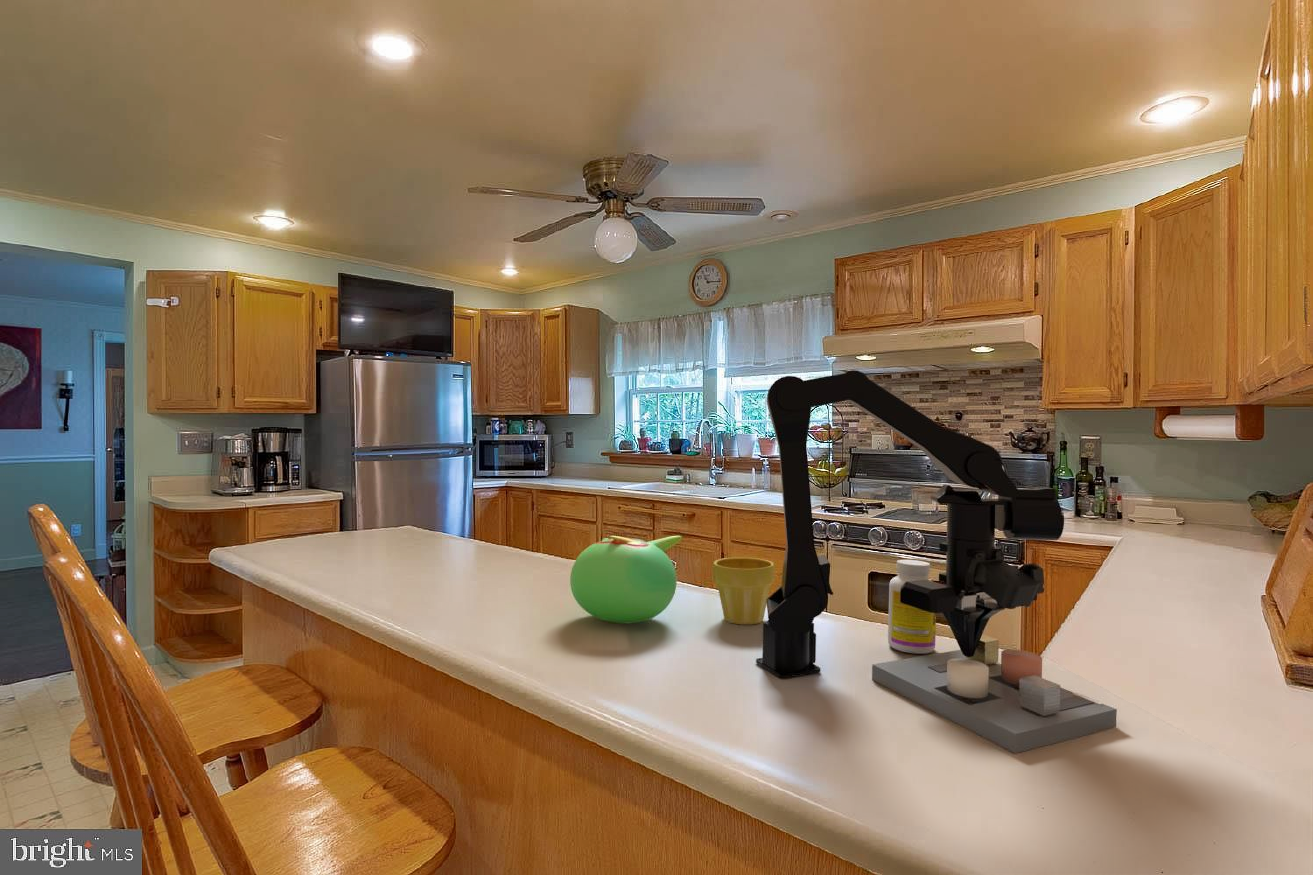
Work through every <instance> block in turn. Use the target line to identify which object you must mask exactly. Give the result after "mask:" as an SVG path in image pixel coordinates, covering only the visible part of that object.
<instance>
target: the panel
mask: <svg viewBox="0 0 1313 875" xmlns="http://www.w3.org/2000/svg"><path fill="white" fill-rule="evenodd" d="M956 658H961V659H968V658H966V656H964V655H963V654H962V651H961V649H956V650H951V651H944V652H938V653H932V654H925V655H921V656H914V657H908V658H904V659H897V660H891V661H885V662H879V663H873V664H871V681H874V682H877V683H878V684H879V685H882V686H883V687H884V688H887V689H889V690H891V691H894V692H895V693H897V694H899V695H900V696H903V697H905V698H907V699H908V700H911V701H912V702H914V703H917V704H918V705H920V706H922V707H924V708H926V709H928V710H930V711H932V712H934V713H935V714H937V715H940V716H942V717H944V718H945V719H948V721H949V720H950V721H951V722H954V723H956V724H957V725H959V726H961V727H964V728H965V729H967V730H969V731H971V732H973V733H975V734H976V735H978V736H981V737H982V738H984V739H986V740H988V741H989V742H992V743H993V744H996V745H998V746H1000V747H1002V748H1004V749H1006V750H1007V751H1009V752H1011V753H1013V754H1018V753H1022V752H1026V751H1029V750H1033V749H1037V748H1041V747H1044V746H1045V747H1046V746H1049V745H1052V744H1056V743H1059V742H1064V741H1067V740H1072V739H1076V738H1079V737H1083V736H1087V735H1091V734H1095V733H1098V732H1099V733H1100V732H1102V731H1106V730H1110V729H1113V728H1117V715H1118V714H1117V708H1115V707H1112V706H1110V705H1106V704H1104V702H1100V701H1099V700H1096V699H1094V698H1091V697H1089V696H1086V695H1084V694H1081V693H1078V692H1074V691H1072V690H1068V689H1066V688H1063V687H1061V686H1060V712H1059V713H1055V714H1051V715H1046V716H1043V715H1040V714H1038V713H1036V712H1033V711H1031V710H1029V709H1027V708H1024V707H1022V706H1020V705H1019V685H1015V684H1012V683H1009V682H1007V681H1005V680H1003V679H1002V678H1001V662H998V663H993V664H987V666H988V667H989V679H988V696H986V697H984V698H968V697H963V696H959V695H956V694H954V693H952V692H950V691H949V690H948V689H947V661H948V660H950V659H956ZM970 660H971V659H970ZM962 699H966V700H968V701H971V702H972V704H968V703H966V702H964V701H962ZM973 703H974V704H973Z"/></svg>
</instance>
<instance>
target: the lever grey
mask: <svg viewBox="0 0 1313 875" xmlns="http://www.w3.org/2000/svg"><path fill="white" fill-rule="evenodd" d="M1060 687H1061V684H1059V683H1057V682H1053V681H1051V680H1048V679H1047V678H1046V679H1045V678H1043V677H1042V678H1041V677H1038V676H1035V675H1034V676H1029V677H1024V678H1020V679H1019V688H1018V690H1019V705H1020V706H1022V707H1024V708H1027V709H1029V710H1031V711H1033V712H1036V713H1038V714H1040V715H1043V716H1046V715H1051V714H1055V713H1059V712H1060Z"/></svg>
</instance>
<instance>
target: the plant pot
mask: <svg viewBox="0 0 1313 875" xmlns="http://www.w3.org/2000/svg"><path fill="white" fill-rule="evenodd" d="M712 569H713V570H712V571H713V572H712V574H713V582H714V583H715V584H716V585H717V591H718V593H719V595H718V596H719V599H720V605H721V609H722V613H723V619H724V620H725V621H727V622H728V623H730V624H735V625H746V626H747V625H748V626H749V625H758V624H760V623H763V622H764V617H765V615H766V614H765V612H766V609H767V602H766V600H767V598H768V597H769V594H770V588H771V586H772V585H773V584H774V583H775V564H774V562H773V561H771V560H766V559H763V558H756V557H745V556H744V557H724V558H719V559H716V560H714V562H713V568H712Z"/></svg>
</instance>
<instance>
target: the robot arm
mask: <svg viewBox="0 0 1313 875" xmlns="http://www.w3.org/2000/svg"><path fill="white" fill-rule="evenodd" d="M841 402H847V403H850V404H852V405H853V406H855V407H856V408H858V409H859V410H861V411H862V412H864V413H865V414H867V415H868V416H870V417H871V418H872V419H874V420H876V421H878V422H879V423H880V424H882V425H883V426H885V427H887V428H888V429H890V431H893V432H894V433H896V434H897V435H899V436H901V437H902V438H903V439H905V440H906V441H908V442H910V443H911V444H913V445H914V446H915V447H917V448H918V449H919V450H920V451H922V453H924V454H925V455H926V457H927V458H928V459H929V460H930V462H932V463H933V464H934V465H935V466H936V467H937V468H938V469H939V470H940V471H941V472H942V473H943V474H944V475H945V476H946V477H948V479H949V480H951V481H953V482H954V483H956V484H960V485H963V486H967V487H970V488H976V489H977V490H980V491H981V492H985V493H988V494H992V495H995V496H997V497H998V498H988V497H987V498H984V497H981V495H980V493H979V492H978V491H976V490H961V489H960V490H958V489H957V490H954V488H953V487H952V486H951V485H949V484H942V486H941V487H940V489H938V490H937V491H936V492H935V493H933V494H932V495H931V496H930V501H933V502H935V503H937V504H942V505H943V504H944V505H945V504H946V508H947V510H946V542H939V546H938V547H939V549H938V551H940V552H944V553H945V554H946V556H945V557H946V558H945V559H946V560H945V562H946V563H945V572H941V573H940V572H939V573H938V582H941V583H938V582H935V581H933V580H931V581H929V580H930V579H929V580H917V581H907V582H905V583H904V584H903V585H902V586H901V589H900V603H903V604H906V605H909V606H912V607H915V608H918V609H921V610H924V611H927V612H930V613H936V614H941V613H942V615H943V616H944V618H945V620H946V621H947V624H948V626H949V628H950V629H951V631H952V634H953V636H954V638H955V640H956V642H957V645H958V647H959V650H961V651H962V654H963V655H964V656H967V657H973V656H974V654H975V651H976V649H977V646H978V644H979V641H980V639H981V636H982V634H983V633H984V631H985V628H986V626H987V624H988V623H989V621H990V619H991V618H992V617H993V616H995V615H996V614H997V613H999V612H1001V611H1005V610H1006V609H1007V610H1014V609H1016V608H1019V607H1025V608H1028V607H1031V605H1032V603H1033V601H1038V595H1039V594H1044V592H1045V588H1044V584H1045V577H1044V569H1043V568H1042V567H1041V566H1040V565H1037V564H1036V563H1024V564H1022V565H1021V566H1019V565H1017V564H1015V565H1013V564H1012V565H1011V564H1009V563H1007V562H1005V552H1004V551H1003V548H1002V547H998V546H995V544H996V542H995V541H996V540H995V539H996V537H995V536H996V529H997V531H999V532H1002V533H1003V534H1004V535H1003V536H1004V537H1005V538H1006V539H1007V540H1022V541H1023V540H1026V541H1027V540H1028V541H1030V540H1031V541H1034V540H1035V541H1054V542H1055V541H1058V540H1059V539H1060V538H1061V537H1062V535H1063V531H1064V529H1065V528H1064V526H1065V516H1064V515H1063V512H1062V507H1061V504H1060V503H1059V501H1058V499H1057V490H1056V489H1055V488H1051V487H1047V486H1046V487H1044V486H1043V487H1040V486H1039V487H1034V488H1025V487H1024V488H1021V487H1020V488H1018V487H1017V486H1016V485H1015V483H1014V482H1013V481H1012V480H1011V478H1010V477H1009V475H1008V474H1007V473H1006V472H1005V470H1004V469H1003V463H1002V462H1003V461H1002V456H1001V454H1000V452H999V451H998V450H997V448H995V447H993V446H992V445H990V444H987V443H985V442H983V441H980V440H978V439H977V438H973V437H971V436H969V435H966V434H963V433H961V432H958V431H955V430H952V429H950V428H947V427H945V426H943V425H940V424H939V423H937V421H935V420H933V419H931V418H929V416H927V415H925V414H924V413H922V412H921V411H919V410H917V409H916V408H915V407H913V406H911V405H910V404H908V403H907V402H906V401H904V400H902V399H901V398H899V397H898V396H896V395H895V394H893V393H891V392H890V391H888V390H886V389H885V388H884V387H882V386H880V385H879V384H877V383H876V382H875V381H873V380H871V379H870V378H869V377H868V376H867V375H866V374H865V373H864V372H862V371H860V370H855V369H854V370H848V371H846V372H844V373H839V374H838V373H837V374H833V375H828V376H822V377H821V376H820V377H816V378H811V379H805V380H803V379H802V378H800V377H798V376H795V375H794V376H793V375H786V376H783V377H780V378H778V379H777V380H775V381H774V382H773V383H772V384H771V386H770V387H769V389H768V391H767V394H766V405H767V410H768V413H769V416H770V417H769V418H770V420H771V424H772V428H773V432H774V435H775V438H776V442H777V447H778V455H779V467H780V468H779V469H780V480H781V492H782V504H783V506H782V507H783V516H784V520H783V521H784V531H785V552H784V557H783V558H784V559H783V563H782V564H783V565H782V567H783V568H782V573H781V574H782V576H781V585H780V586H779V587H778V589H776V590H775V591H774V592H773V593H772V594H771V595H769V596H768V598H767V600H766V602H767V604H766V609H767V610H766V611H767V612H766V613H767V620H766V621H765V620H763V621H762V657H759V658H756V659H755V663H756V664H758V665H759V666H760V667H763V668H764V669H765V670H767V671H769V672H770V673H772V674H774V675H775V676H776V677H778V678H781V679H785V678H786V679H787V678H792V677H797V676H805V675H809V674H816V673H820V672H821V669H822V668H821V667H820V666H818V665H816V664H815V663H816V662H817V660H816V659H817V658H816V657H817V656H816V655H817V653H816V652H817V634H816V632H815V623H814V620H815V618H816V617H818V616H820V615H821V614H823V612H824V611H825V610H826V609H827V607H828V603H829V595H831V596H833V595H834V592H833V589H832V588H831V584H830V576H831V575H830V574H831V563H830V562H829V560H828V558H827V556H826V555H825V554H822V555H818V553H817V550H816V547H815V546H816V545H815V537H814V536H815V535H814V523H813V522H814V521H813V511H812V510H813V509H812V498H811V488H810V487H811V485H810V475H809V474H810V472H809V471H810V470H809V462H808V449H807V446H808V445H807V444H808V437H809V435H808V434H809V430H810V429H809V428H810V422H811V414H812V408H816V407H820V406H826V405H830V404H836V403H841ZM942 583H945V584H946V585H945V584H942ZM983 635H984V634H983Z"/></svg>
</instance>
